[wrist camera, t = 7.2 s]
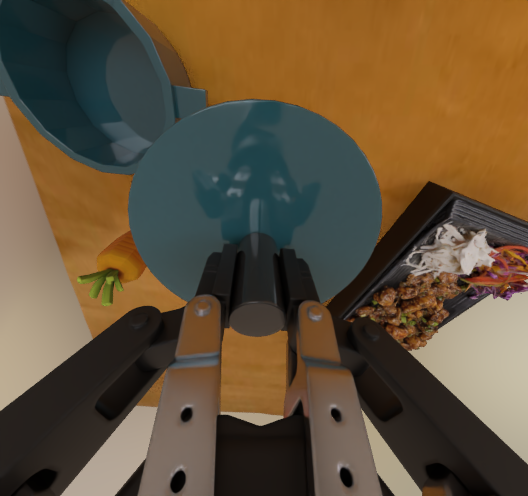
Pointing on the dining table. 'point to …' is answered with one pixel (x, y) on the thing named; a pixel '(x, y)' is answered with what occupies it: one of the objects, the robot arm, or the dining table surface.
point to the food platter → (437, 266)
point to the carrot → (115, 268)
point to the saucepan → (93, 78)
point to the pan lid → (255, 204)
